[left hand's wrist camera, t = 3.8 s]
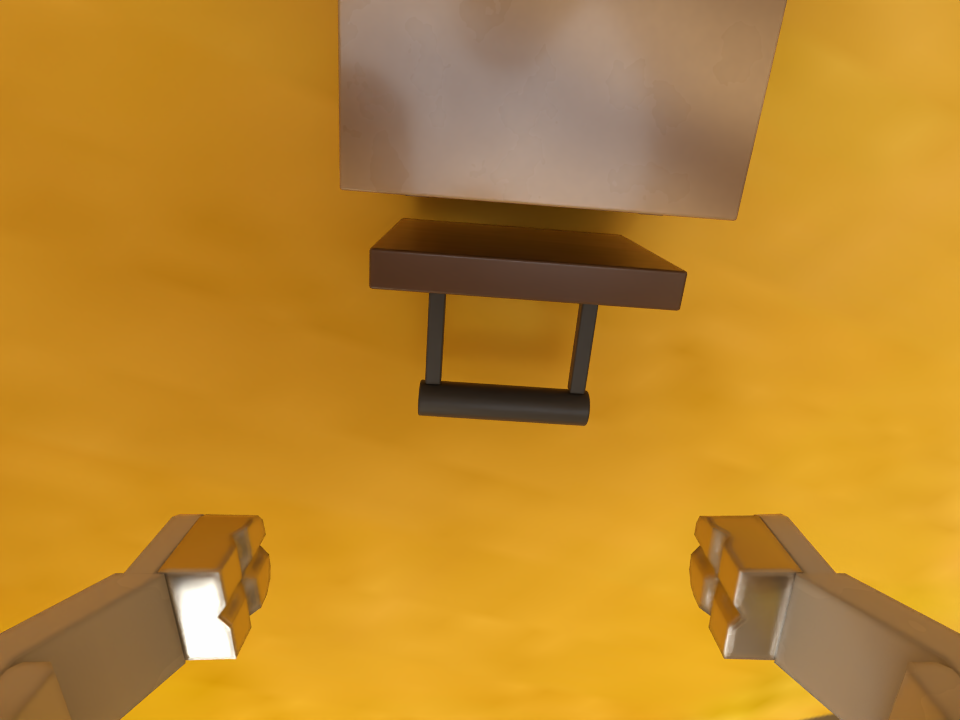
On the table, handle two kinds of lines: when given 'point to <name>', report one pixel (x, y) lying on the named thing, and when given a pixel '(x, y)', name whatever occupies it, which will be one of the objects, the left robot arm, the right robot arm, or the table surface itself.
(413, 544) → the table surface
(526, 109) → the cabinet
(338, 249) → the table surface
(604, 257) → the drawer
